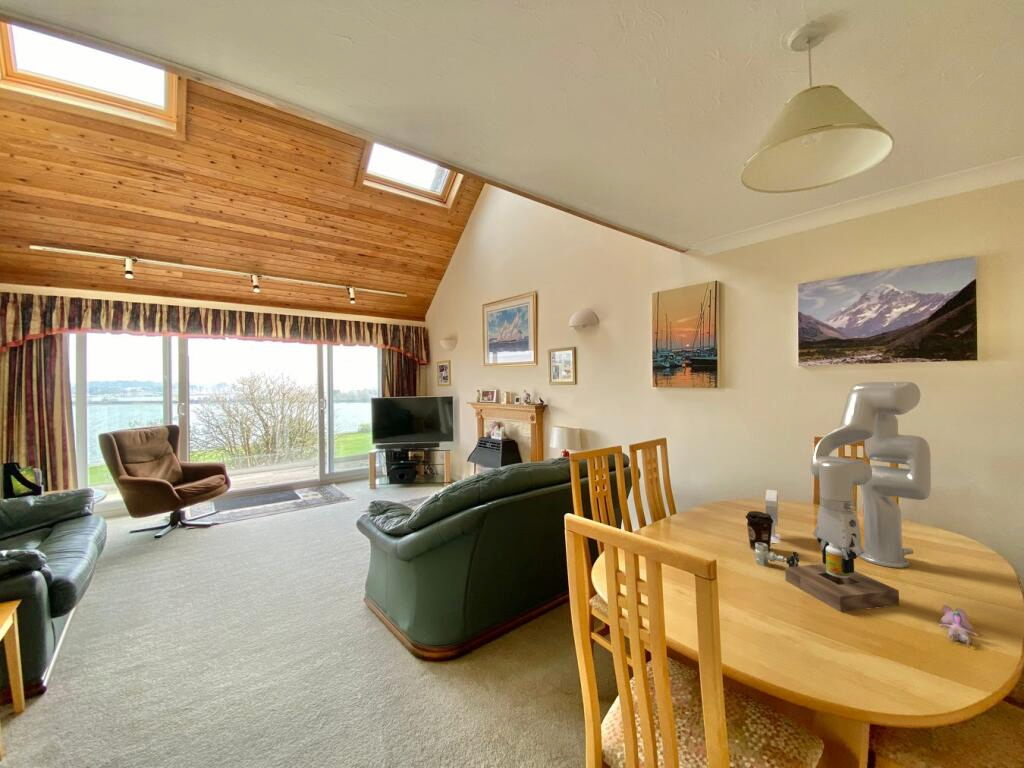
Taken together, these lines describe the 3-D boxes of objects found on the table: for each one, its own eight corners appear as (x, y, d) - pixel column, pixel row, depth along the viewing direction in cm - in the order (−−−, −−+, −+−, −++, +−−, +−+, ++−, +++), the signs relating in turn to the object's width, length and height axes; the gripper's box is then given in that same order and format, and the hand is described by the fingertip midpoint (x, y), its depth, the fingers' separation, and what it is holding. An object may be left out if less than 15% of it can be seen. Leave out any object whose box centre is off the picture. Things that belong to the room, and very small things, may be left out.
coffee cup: (747, 552, 148) (746, 515, 148) (744, 543, 156) (743, 509, 156) (776, 555, 145) (775, 518, 145) (771, 546, 152) (770, 511, 153)
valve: (751, 565, 138) (794, 576, 129) (751, 545, 138) (793, 555, 129) (758, 559, 142) (799, 570, 133) (757, 539, 142) (799, 549, 133)
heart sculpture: (780, 545, 153) (778, 497, 153) (764, 543, 156) (763, 495, 156) (780, 533, 166) (779, 488, 166) (766, 531, 169) (764, 487, 169)
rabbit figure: (981, 657, 91) (971, 618, 102) (981, 632, 91) (971, 595, 102) (940, 646, 96) (935, 609, 107) (940, 622, 95) (935, 588, 106)
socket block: (837, 575, 129) (836, 562, 129) (899, 605, 111) (898, 590, 111) (785, 580, 126) (785, 567, 126) (840, 611, 108) (839, 596, 108)
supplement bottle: (821, 570, 121) (820, 537, 121) (838, 569, 121) (837, 536, 121) (837, 579, 116) (836, 544, 116) (855, 578, 116) (854, 543, 116)
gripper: (877, 512, 111) (879, 580, 111) (821, 496, 128) (823, 555, 127) (853, 514, 110) (855, 582, 109) (799, 497, 127) (801, 557, 126)
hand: (837, 567), depth 118 cm, fingers closed on supplement bottle, 5 cm apart
